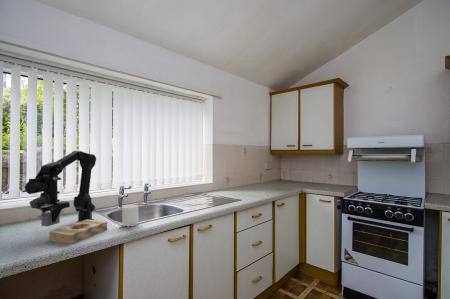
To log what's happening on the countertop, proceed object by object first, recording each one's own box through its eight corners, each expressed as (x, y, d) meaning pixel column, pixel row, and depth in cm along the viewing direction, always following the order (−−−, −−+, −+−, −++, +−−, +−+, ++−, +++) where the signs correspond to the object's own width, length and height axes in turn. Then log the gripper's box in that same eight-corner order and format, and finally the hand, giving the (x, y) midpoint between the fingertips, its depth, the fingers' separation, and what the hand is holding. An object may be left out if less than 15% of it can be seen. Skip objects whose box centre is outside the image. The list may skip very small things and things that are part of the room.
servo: (57, 220, 122) (57, 207, 122) (63, 221, 121) (63, 208, 121) (37, 227, 113) (36, 212, 113) (43, 227, 112) (42, 213, 112)
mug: (118, 223, 136) (117, 205, 136) (132, 220, 141) (132, 202, 141) (125, 228, 127) (125, 209, 127) (140, 224, 132) (140, 206, 132)
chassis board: (86, 226, 130) (86, 219, 130) (107, 229, 125) (106, 221, 125) (49, 240, 111) (49, 231, 111) (71, 243, 106) (71, 234, 106)
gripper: (19, 192, 112) (19, 224, 112) (47, 194, 106) (47, 228, 106) (43, 188, 123) (43, 218, 123) (70, 190, 117) (70, 221, 117)
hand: (50, 221), depth 117 cm, fingers closed on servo, 4 cm apart
